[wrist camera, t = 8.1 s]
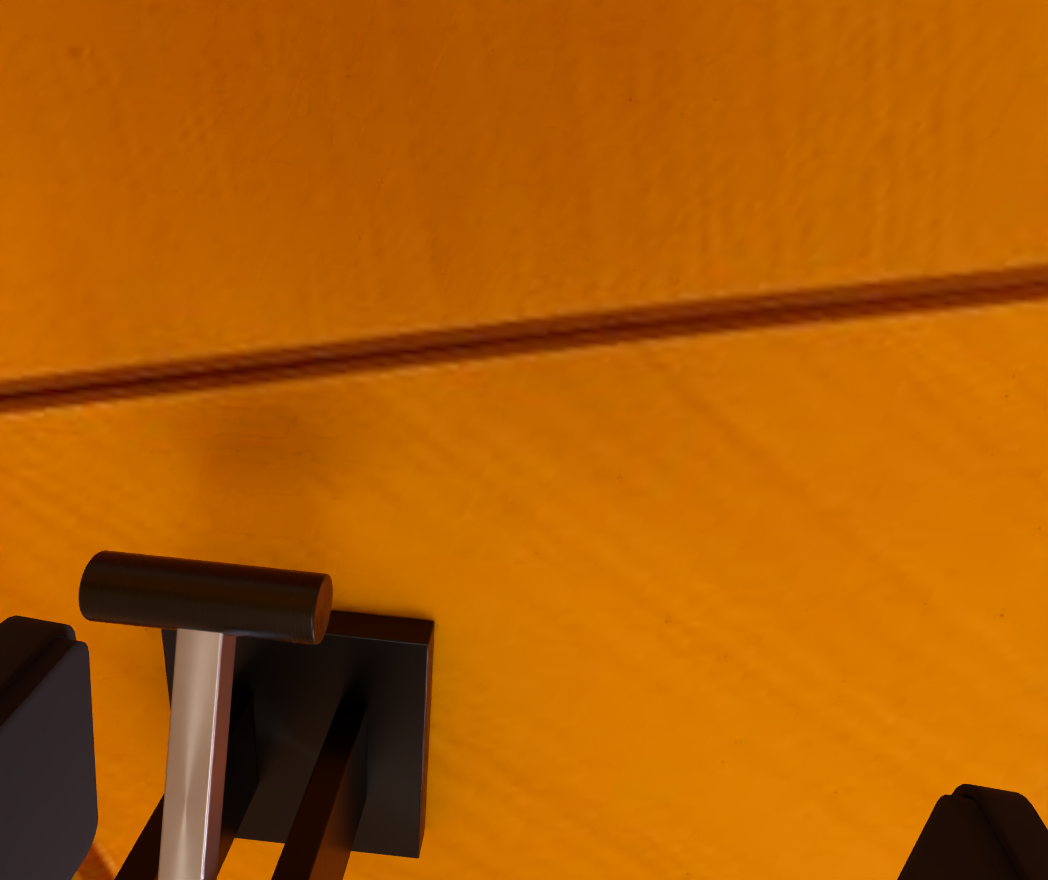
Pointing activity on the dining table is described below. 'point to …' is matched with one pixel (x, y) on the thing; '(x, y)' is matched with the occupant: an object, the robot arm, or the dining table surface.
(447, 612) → the dining table surface
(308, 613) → the lever
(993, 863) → the robot arm
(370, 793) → the bracket
